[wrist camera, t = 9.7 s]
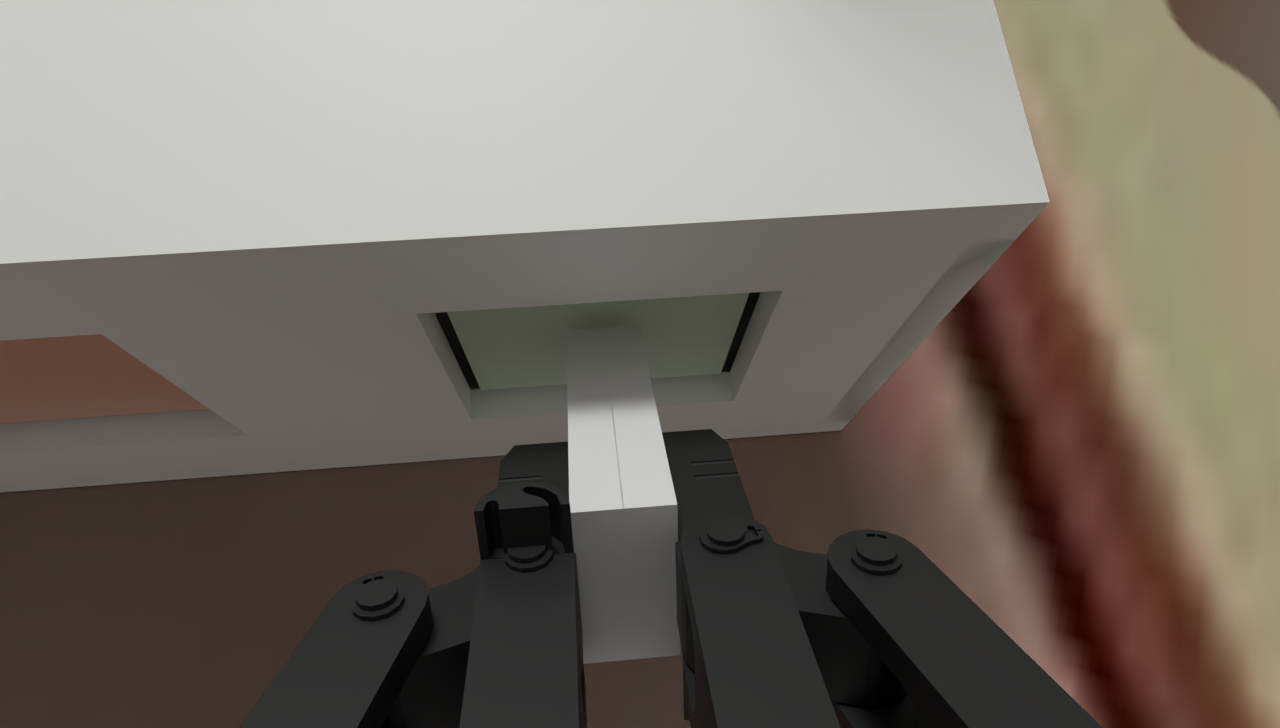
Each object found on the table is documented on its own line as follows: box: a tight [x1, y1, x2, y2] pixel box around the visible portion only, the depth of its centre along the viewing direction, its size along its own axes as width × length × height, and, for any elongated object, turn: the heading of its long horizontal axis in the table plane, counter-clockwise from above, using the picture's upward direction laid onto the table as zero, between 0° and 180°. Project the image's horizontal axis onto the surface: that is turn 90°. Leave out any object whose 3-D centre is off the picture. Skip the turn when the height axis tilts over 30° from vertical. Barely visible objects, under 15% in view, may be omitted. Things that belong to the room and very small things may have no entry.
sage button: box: [447, 293, 749, 390], centre depth 20 cm, size 6×7×6 cm
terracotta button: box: [0, 334, 209, 423], centre depth 19 cm, size 6×7×6 cm
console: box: [0, 0, 1050, 493], centre depth 21 cm, size 26×10×13 cm, turn 95°
